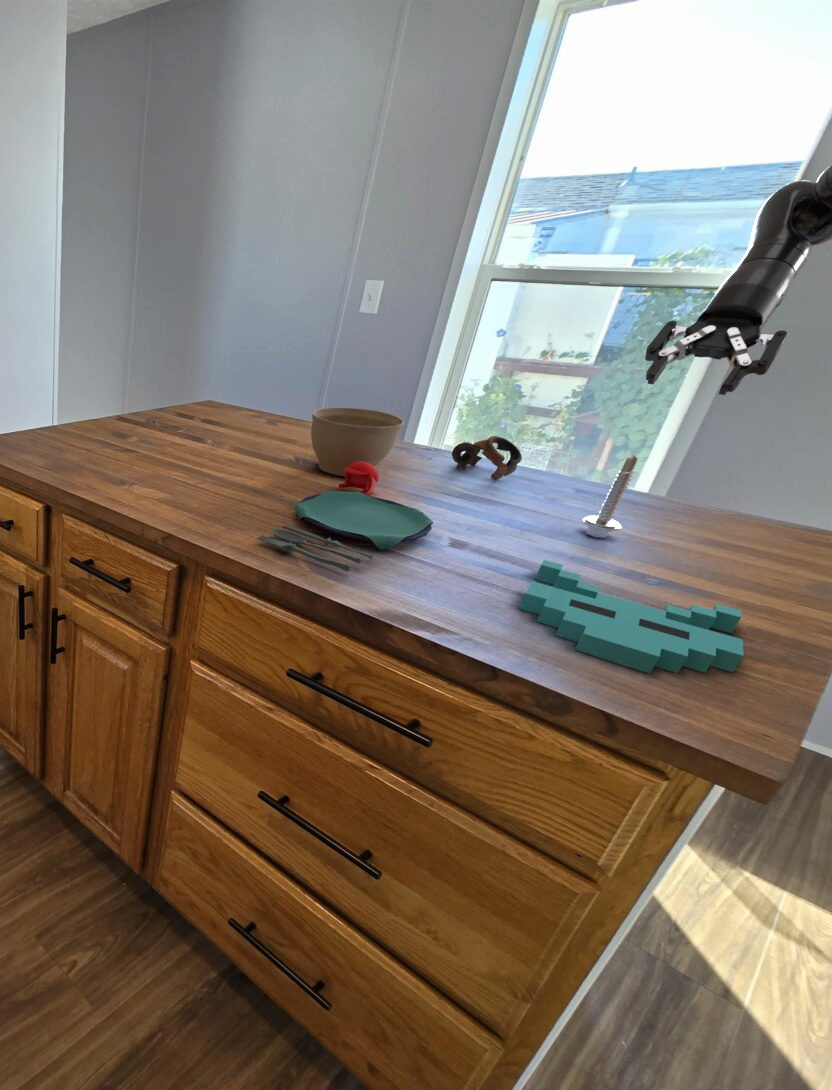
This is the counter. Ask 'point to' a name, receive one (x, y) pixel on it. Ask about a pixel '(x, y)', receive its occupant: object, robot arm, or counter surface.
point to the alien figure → (633, 626)
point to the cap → (361, 477)
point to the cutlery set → (352, 524)
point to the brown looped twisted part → (488, 455)
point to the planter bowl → (352, 437)
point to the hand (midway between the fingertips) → (685, 386)
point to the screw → (611, 503)
